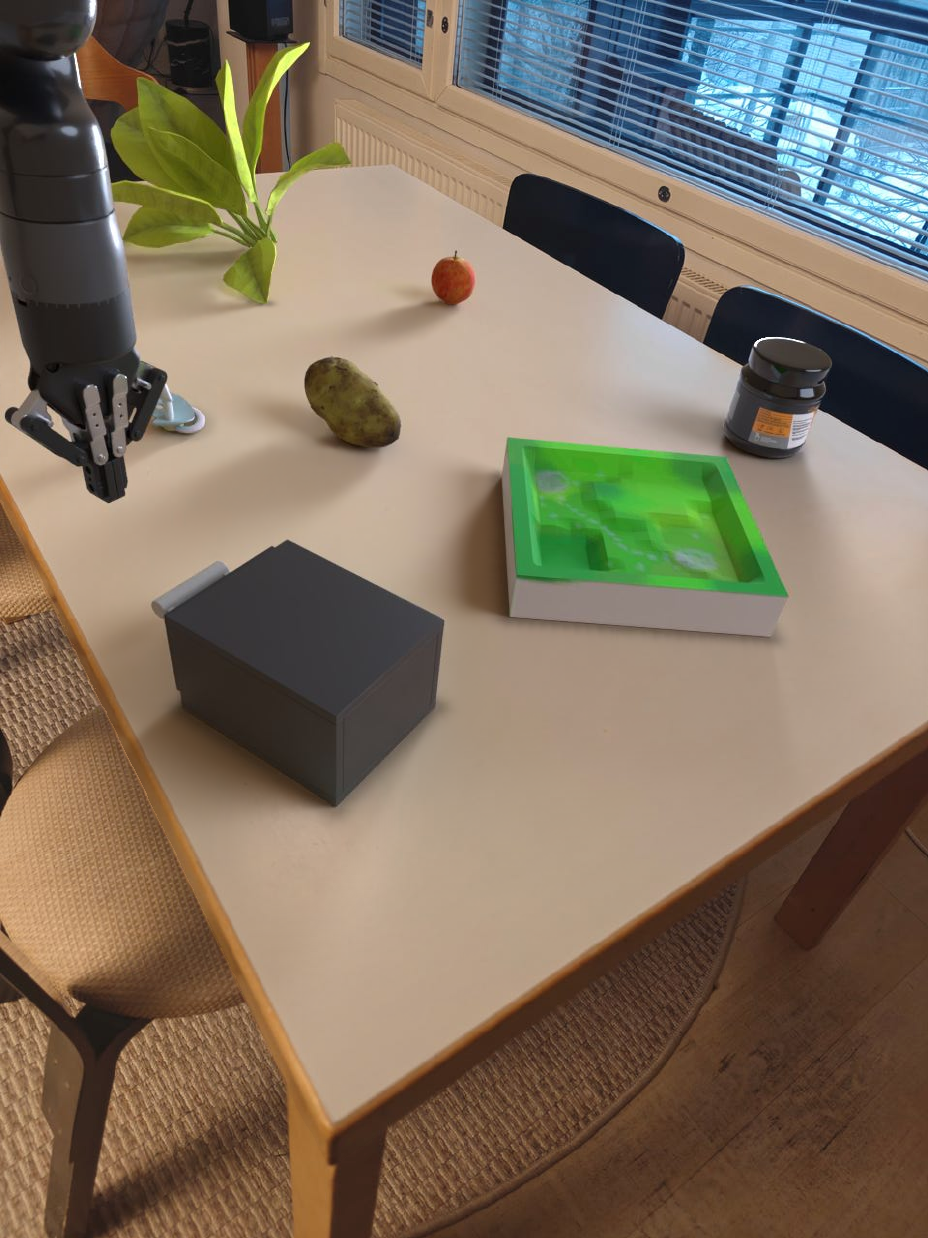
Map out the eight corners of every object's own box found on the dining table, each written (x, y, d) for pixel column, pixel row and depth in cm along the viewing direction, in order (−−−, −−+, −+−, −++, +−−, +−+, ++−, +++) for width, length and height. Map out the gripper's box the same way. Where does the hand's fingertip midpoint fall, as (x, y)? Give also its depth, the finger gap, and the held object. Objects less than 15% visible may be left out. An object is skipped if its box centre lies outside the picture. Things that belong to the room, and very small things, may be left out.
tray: (713, 494, 101) (726, 456, 97) (770, 636, 82) (788, 596, 78) (501, 475, 99) (507, 437, 96) (509, 616, 80) (517, 574, 77)
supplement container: (804, 468, 108) (841, 378, 100) (720, 451, 109) (750, 361, 101) (799, 430, 115) (832, 344, 108) (720, 414, 117) (748, 328, 109)
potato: (345, 465, 98) (345, 400, 92) (295, 415, 105) (293, 352, 100) (407, 450, 101) (411, 387, 96) (355, 403, 109) (356, 342, 104)
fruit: (466, 313, 135) (472, 261, 130) (424, 305, 136) (428, 253, 131) (477, 299, 140) (483, 248, 135) (436, 291, 141) (440, 240, 136)
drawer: (137, 665, 70) (122, 590, 65) (239, 596, 77) (232, 524, 72) (316, 778, 63) (315, 705, 58) (409, 691, 70) (414, 619, 65)
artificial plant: (153, 250, 160) (25, 103, 135) (347, 116, 154) (250, -63, 129) (196, 389, 138) (51, 244, 113) (425, 239, 132) (326, 50, 107)
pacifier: (199, 408, 105) (147, 411, 102) (195, 359, 101) (141, 361, 98) (210, 437, 100) (156, 441, 97) (207, 387, 96) (150, 390, 93)
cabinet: (182, 708, 68) (167, 616, 62) (291, 627, 76) (287, 538, 70) (336, 807, 62) (336, 717, 56) (435, 707, 70) (445, 619, 64)
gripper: (112, 244, 64) (143, 450, 75) (-59, 284, 55) (4, 512, 66) (184, 272, 61) (204, 482, 72) (16, 320, 52) (69, 551, 63)
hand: (109, 496), depth 69 cm, fingers closed
